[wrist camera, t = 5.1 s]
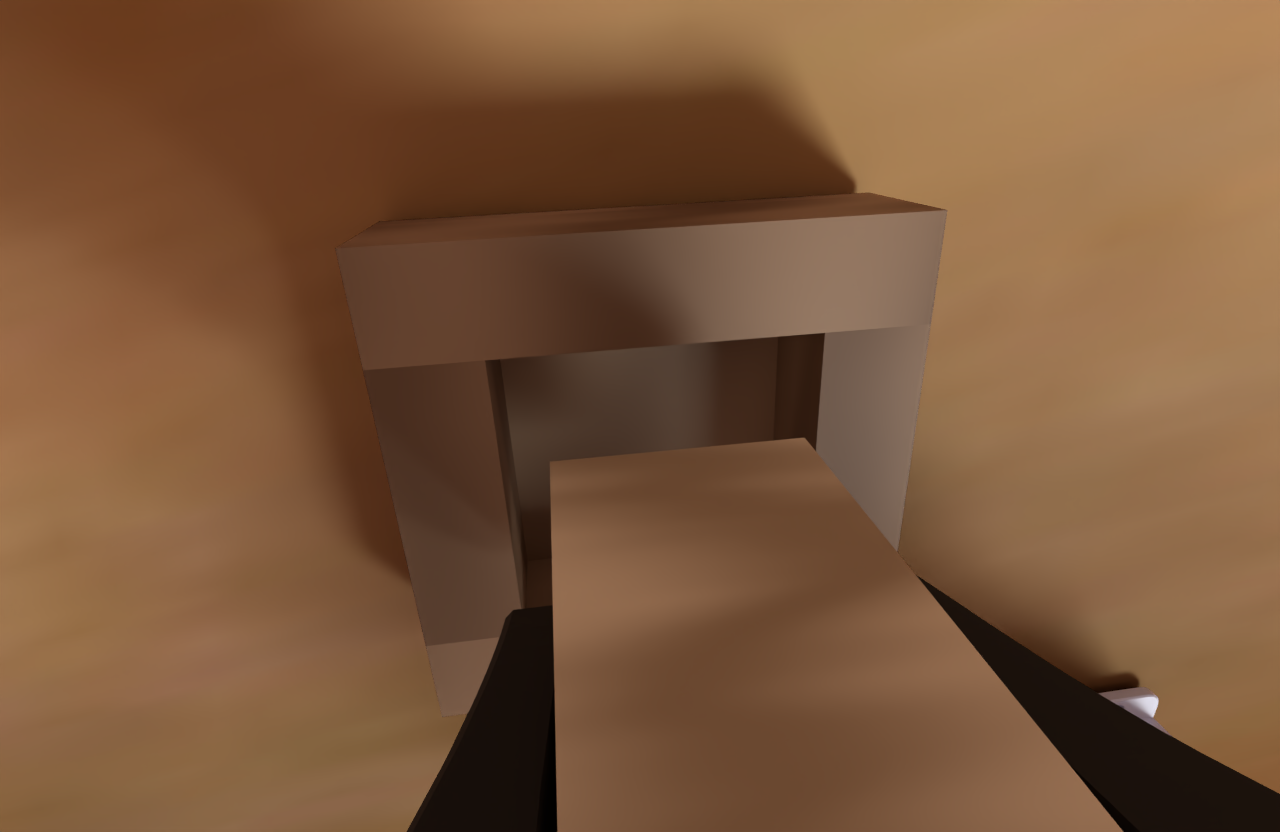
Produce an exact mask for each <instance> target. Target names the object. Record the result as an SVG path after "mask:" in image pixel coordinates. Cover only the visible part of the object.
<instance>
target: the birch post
mask: <svg viewBox="0 0 1280 832" xmlns="http://www.w3.org/2000/svg"><path fill="white" fill-rule="evenodd" d="M550 496H551V544H552V592H553V639H554V687H555V735H556V783H557V831H558V832H1123V831H1122V829H1121V828H1120V827H1119V826H1118V824H1117V823H1116V822H1115V821H1114V819H1113V818H1112V817H1111V816H1110V815H1109V813H1108V812H1107V811H1106V810H1105V808H1104V807H1103V806H1102V805H1101V803H1100V802H1099V801H1098V800H1097V798H1096V797H1095V796H1094V795H1093V794H1092V792H1091V791H1090V790H1089V789H1088V787H1087V786H1086V785H1085V784H1084V782H1083V781H1082V780H1081V779H1080V777H1079V776H1078V775H1077V774H1076V773H1075V771H1074V770H1073V769H1072V768H1071V766H1070V765H1069V764H1068V763H1067V761H1066V760H1065V759H1064V758H1063V756H1062V755H1061V754H1060V753H1059V751H1058V750H1057V749H1056V748H1055V747H1054V745H1053V744H1052V743H1051V742H1050V740H1049V739H1048V738H1047V737H1046V735H1045V734H1044V733H1043V732H1042V730H1041V729H1040V728H1039V727H1038V726H1037V724H1036V723H1035V722H1034V721H1033V719H1032V718H1031V717H1030V716H1029V714H1028V713H1027V712H1026V711H1025V709H1024V708H1023V707H1022V706H1021V705H1020V703H1019V702H1018V701H1017V700H1016V698H1015V697H1014V696H1013V695H1012V693H1011V692H1010V691H1009V690H1008V688H1007V687H1006V686H1005V685H1004V683H1003V682H1002V681H1001V680H1000V679H999V677H998V676H997V675H996V674H995V672H994V671H993V670H992V669H991V667H990V666H989V665H988V664H987V662H986V661H985V660H984V659H983V658H982V656H981V655H980V654H979V653H978V651H977V650H976V649H975V648H974V646H973V645H972V644H971V643H970V641H969V640H968V639H967V638H966V637H965V635H964V634H963V633H962V632H961V630H960V629H959V628H958V627H957V625H956V624H955V623H954V622H953V620H952V619H951V618H950V617H949V615H948V614H947V613H946V612H945V611H944V609H943V608H942V607H941V606H940V604H939V603H938V602H937V601H936V599H935V598H934V597H933V596H932V594H931V593H930V592H929V591H928V590H927V588H926V587H925V586H924V585H923V583H922V582H921V581H920V580H919V578H918V577H917V576H916V575H915V573H914V572H913V571H912V570H911V569H910V567H909V566H908V565H907V564H906V562H905V561H904V560H903V559H902V557H901V556H900V555H899V554H898V552H897V551H896V550H895V549H894V547H893V546H892V545H891V544H890V543H889V541H888V540H887V539H886V538H885V536H884V535H883V534H882V533H881V531H880V530H879V529H878V528H877V526H876V525H875V524H874V523H873V522H872V520H871V519H870V518H869V517H868V515H867V514H866V513H865V512H864V510H863V509H862V508H861V507H860V505H859V504H858V503H857V502H856V501H855V499H854V498H853V497H852V496H851V494H850V493H849V492H848V491H847V489H846V488H845V487H844V486H843V484H842V483H841V482H840V481H839V479H838V478H837V477H836V476H835V475H834V473H833V472H832V471H831V470H830V468H829V467H828V466H827V465H826V463H825V462H824V461H823V460H822V458H821V457H820V456H819V455H818V454H817V452H816V451H815V450H814V449H813V447H812V446H811V445H810V444H809V442H808V441H807V440H806V439H805V438H795V439H784V440H774V441H763V442H752V443H742V444H731V445H721V446H710V447H699V448H689V449H678V450H668V451H657V452H647V453H636V454H625V455H615V456H604V457H594V458H583V459H573V460H562V461H551V462H550Z"/></svg>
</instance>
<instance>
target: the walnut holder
mask: <svg viewBox="0 0 1280 832" xmlns="http://www.w3.org/2000/svg"><path fill="white" fill-rule="evenodd" d="M946 216H947V210H945V209H940V208H936V207H931V206H927V205H922V204H918V203H913V202H909V201H904V200H900V199H895V198H891V197H886V196H882V195H877V194H873V193H854V194H837V195H820V196H803V197H786V198H770V199H753V200H736V201H719V202H702V203H685V204H668V205H651V206H634V207H617V208H600V209H583V210H566V211H549V212H532V213H515V214H498V215H481V216H464V217H447V218H430V219H413V220H396V221H379V222H378V223H376V224H374V225H373V226H371V227H370V228H368V229H366V230H365V231H363V232H361V233H360V234H358V235H356V236H355V237H353V238H351V239H350V240H348V241H347V242H345V243H343V244H342V245H340V246H338V247H337V248H335V250H336V254H337V258H338V263H339V267H340V272H341V276H342V280H343V285H344V289H345V293H346V298H347V302H348V307H349V311H350V315H351V320H352V324H353V329H354V333H355V337H356V342H357V346H358V350H359V355H360V359H361V364H362V368H363V372H364V377H365V381H366V386H367V390H368V394H369V399H370V403H371V407H372V412H373V416H374V421H375V425H376V429H377V434H378V438H379V443H380V447H381V451H382V456H383V460H384V464H385V469H386V473H387V478H388V482H389V486H390V491H391V495H392V500H393V504H394V508H395V513H396V517H397V521H398V526H399V530H400V535H401V539H402V543H403V548H404V552H405V557H406V561H407V565H408V570H409V574H410V578H411V583H412V587H413V592H414V596H415V600H416V605H417V609H418V614H419V618H420V622H421V627H422V631H423V635H424V640H425V644H426V649H427V653H428V657H429V662H430V666H431V671H432V675H433V679H434V684H435V688H436V692H437V697H438V701H439V706H440V710H441V714H442V717H446V716H453V715H460V714H468V712H469V710H470V708H471V706H472V704H473V702H474V699H475V697H476V695H477V693H478V690H479V688H480V686H481V683H482V681H483V679H484V676H485V674H486V672H487V669H488V667H489V664H490V662H491V659H492V657H493V654H494V651H495V649H496V646H497V643H498V640H499V637H500V634H501V631H502V628H503V625H504V621H505V618H506V617H507V616H508V615H509V614H510V613H511V612H512V611H513V610H516V609H525V608H533V607H541V606H550V605H553V592H552V544H551V496H550V462H551V461H562V460H573V459H583V458H594V457H604V456H615V455H625V454H636V453H647V452H657V451H668V450H678V449H689V448H699V447H710V446H721V445H731V444H742V443H752V442H763V441H774V440H784V439H795V438H805V439H806V440H807V441H808V442H809V444H810V445H811V446H812V447H813V449H814V450H815V451H816V452H817V454H818V455H819V456H820V457H821V458H822V460H823V461H824V462H825V463H826V465H827V466H828V467H829V468H830V470H831V471H832V472H833V473H834V475H835V476H836V477H837V478H838V479H839V481H840V482H841V483H842V484H843V486H844V487H845V488H846V489H847V491H848V492H849V493H850V494H851V496H852V497H853V498H854V499H855V501H856V502H857V503H858V504H859V505H860V507H861V508H862V509H863V510H864V512H865V513H866V514H867V515H868V517H869V518H870V519H871V520H872V522H873V523H874V524H875V525H876V526H877V528H878V529H879V530H880V531H881V533H882V534H883V535H884V536H885V538H886V539H887V540H888V541H889V543H890V544H891V545H892V546H893V547H894V549H895V550H896V551H897V552H898V546H899V539H900V532H901V525H902V518H903V511H904V504H905V498H906V491H907V484H908V477H909V470H910V463H911V456H912V449H913V443H914V436H915V429H916V422H917V415H918V408H919V401H920V395H921V388H922V381H923V374H924V367H925V360H926V353H927V347H928V340H929V333H930V326H931V319H932V312H933V305H934V299H935V292H936V285H937V278H938V271H939V264H940V257H941V250H942V244H943V237H944V230H945V223H946Z"/></svg>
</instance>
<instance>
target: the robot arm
mask: <svg viewBox="0 0 1280 832" xmlns="http://www.w3.org/2000/svg"><path fill="white" fill-rule="evenodd" d="M916 576H917V575H916ZM917 577H918V576H917ZM918 578H919V580H920V581H921V582H922V583H923V585H924V586H925V587H926V588H927V590H928V591H929V592H930V593H931V594H932V596H933V597H934V598H935V599H936V601H937V602H938V603H939V604H940V606H941V607H942V608H943V609H944V611H945V612H946V613H947V614H948V615H949V617H950V618H951V619H952V620H953V622H954V623H955V624H956V625H957V627H958V628H959V629H960V630H961V632H962V633H963V634H964V635H965V637H966V638H967V639H968V640H969V641H970V643H971V644H972V645H973V646H974V648H975V649H976V650H977V651H978V653H979V654H980V655H981V656H982V658H983V659H984V660H985V661H986V662H987V664H988V665H989V666H990V667H991V669H992V670H993V671H994V672H995V674H996V675H997V676H998V677H999V679H1000V680H1001V681H1002V682H1003V683H1004V685H1005V686H1006V687H1007V688H1008V690H1009V691H1010V692H1011V693H1012V695H1013V696H1014V697H1015V698H1016V700H1017V701H1018V702H1019V703H1020V705H1021V706H1022V707H1023V708H1024V709H1025V711H1026V712H1027V713H1028V714H1029V716H1030V717H1031V718H1032V719H1033V721H1034V722H1035V723H1036V724H1037V726H1038V727H1039V728H1040V729H1041V730H1042V732H1043V733H1044V734H1045V735H1046V737H1047V738H1048V739H1049V740H1050V742H1051V743H1052V744H1053V745H1054V747H1055V748H1056V749H1057V750H1058V751H1059V753H1060V754H1061V755H1062V756H1063V758H1064V759H1065V760H1066V761H1067V763H1068V764H1069V765H1070V766H1071V768H1072V769H1073V770H1074V771H1075V773H1076V774H1077V775H1078V776H1079V777H1080V779H1081V780H1082V781H1083V782H1084V784H1085V785H1086V786H1087V787H1088V789H1089V790H1090V791H1091V792H1092V794H1093V795H1094V796H1095V797H1096V798H1097V800H1098V801H1099V802H1100V803H1101V805H1102V806H1103V807H1104V808H1105V810H1106V811H1107V812H1108V813H1109V815H1110V816H1111V817H1112V818H1113V819H1114V821H1115V822H1116V823H1117V824H1118V826H1119V827H1120V828H1121V829H1122V831H1123V832H1280V794H1279V793H1277V792H1275V791H1273V790H1271V789H1269V788H1267V787H1265V786H1263V785H1261V784H1259V783H1258V782H1256V781H1254V780H1252V779H1250V778H1248V777H1246V776H1244V775H1242V774H1240V773H1239V772H1237V771H1235V770H1233V769H1231V768H1229V767H1227V766H1225V765H1223V764H1221V763H1219V762H1218V761H1216V760H1214V759H1212V758H1210V757H1208V756H1206V755H1204V754H1202V753H1200V752H1199V751H1197V750H1195V749H1193V748H1191V747H1190V746H1188V745H1186V744H1184V743H1182V742H1181V741H1179V740H1177V739H1175V738H1173V737H1172V736H1171V735H1170V734H1169V733H1168V732H1167V731H1166V730H1165V729H1164V728H1163V727H1162V726H1161V725H1160V724H1159V723H1158V722H1157V721H1156V720H1155V719H1154V718H1153V716H1154V714H1155V711H1156V709H1157V706H1158V700H1159V699H1158V697H1157V696H1156V695H1155V694H1154V693H1153V692H1152V691H1151V690H1150V689H1148V688H1146V687H1137V688H1130V689H1123V690H1116V691H1110V692H1103V693H1097V692H1095V691H1093V690H1092V689H1090V688H1088V687H1087V686H1085V685H1084V684H1082V683H1080V682H1079V681H1077V680H1076V679H1074V678H1072V677H1071V676H1069V675H1067V674H1066V673H1064V672H1063V671H1061V670H1059V669H1058V668H1056V667H1055V666H1053V665H1052V664H1050V663H1048V662H1047V661H1045V660H1044V659H1042V658H1041V657H1039V656H1038V655H1036V654H1034V653H1033V652H1031V651H1030V650H1028V649H1027V648H1025V647H1024V646H1022V645H1021V644H1019V643H1017V642H1016V641H1014V640H1013V639H1011V638H1010V637H1008V636H1007V635H1005V634H1004V633H1002V632H1001V631H999V630H998V629H996V628H995V627H993V626H992V625H990V624H989V623H987V622H986V621H984V620H983V619H981V618H980V617H978V616H977V615H975V614H974V613H972V612H971V611H969V610H968V609H966V608H965V607H963V606H962V605H960V604H959V603H957V602H956V601H954V600H953V599H951V598H950V597H948V596H947V595H945V594H944V593H942V592H941V591H939V590H938V589H936V588H935V587H933V586H932V585H930V584H929V583H927V582H926V581H924V580H923V579H921V578H920V577H918ZM407 832H558V831H557V783H556V735H555V687H554V639H553V605H550V606H541V607H533V608H525V609H516V610H513V611H512V612H511V613H510V614H509V615H508V616H507V617H506V618H505V621H504V625H503V628H502V631H501V634H500V637H499V640H498V643H497V646H496V649H495V651H494V654H493V657H492V659H491V662H490V664H489V667H488V669H487V672H486V674H485V676H484V679H483V681H482V683H481V686H480V688H479V690H478V693H477V695H476V697H475V699H474V702H473V704H472V706H471V708H470V710H469V712H468V714H467V716H466V718H465V721H464V723H463V725H462V727H461V729H460V731H459V733H458V735H457V737H456V739H455V742H454V744H453V746H452V748H451V750H450V752H449V754H448V756H447V758H446V760H445V762H444V764H443V766H442V768H441V770H440V771H439V773H438V775H437V777H436V779H435V781H434V782H433V784H432V786H431V788H430V790H429V792H428V793H427V795H426V797H425V799H424V801H423V803H422V805H421V806H420V808H419V810H418V812H417V814H416V816H415V817H414V819H413V821H412V823H411V825H410V827H409V828H408V830H407Z"/></svg>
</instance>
